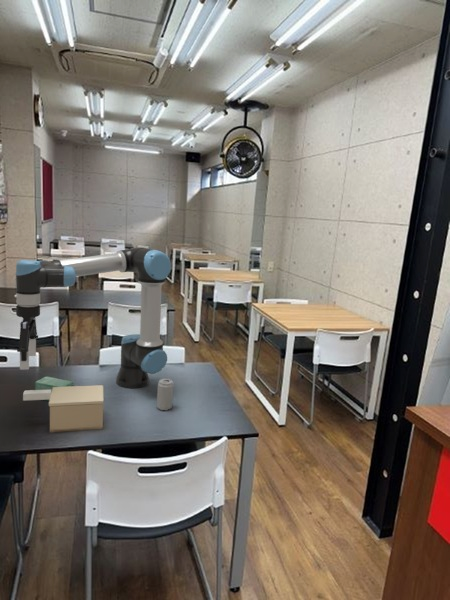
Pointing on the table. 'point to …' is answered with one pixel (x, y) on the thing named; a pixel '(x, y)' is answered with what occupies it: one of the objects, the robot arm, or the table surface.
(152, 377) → the table surface
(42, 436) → the table surface
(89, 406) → the carton
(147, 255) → the robot arm
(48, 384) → the box
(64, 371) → the table surface
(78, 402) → the lid
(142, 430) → the table surface
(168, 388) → the beverage can
